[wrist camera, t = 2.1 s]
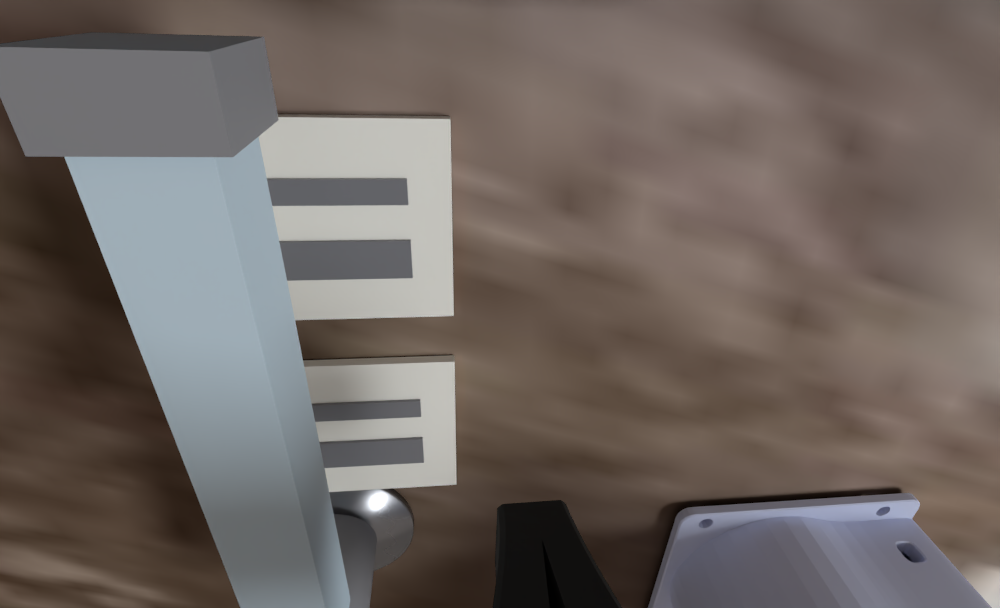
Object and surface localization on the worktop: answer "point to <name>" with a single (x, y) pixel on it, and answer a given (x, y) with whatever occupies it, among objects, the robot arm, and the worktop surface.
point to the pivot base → (379, 519)
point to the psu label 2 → (385, 421)
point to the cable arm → (201, 285)
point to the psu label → (363, 213)
